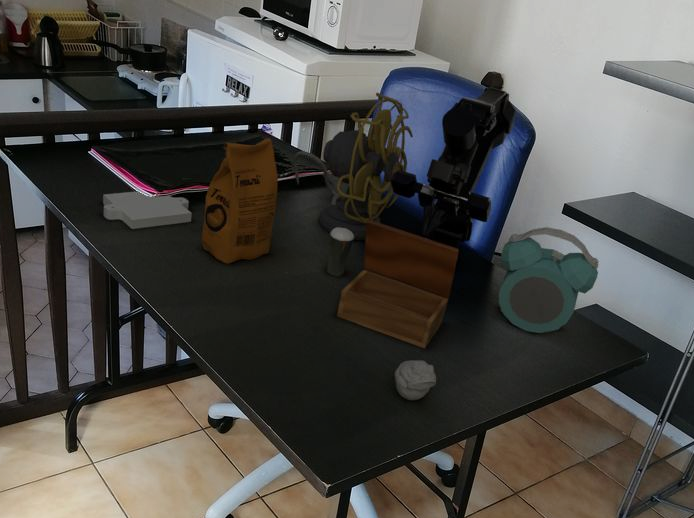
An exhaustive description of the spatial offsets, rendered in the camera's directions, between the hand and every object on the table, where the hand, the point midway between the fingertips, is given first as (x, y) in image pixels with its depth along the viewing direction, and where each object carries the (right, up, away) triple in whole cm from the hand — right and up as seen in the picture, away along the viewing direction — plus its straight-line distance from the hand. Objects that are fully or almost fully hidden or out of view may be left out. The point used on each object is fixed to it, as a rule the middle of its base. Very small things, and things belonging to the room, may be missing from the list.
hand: (424, 237), depth 138 cm
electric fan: (-20, +9, +34) cm, 40 cm away
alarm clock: (+20, -16, +7) cm, 27 cm away
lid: (-3, -5, -6) cm, 8 cm away
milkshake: (-16, -6, +10) cm, 20 cm away
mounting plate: (-56, +7, +17) cm, 59 cm away
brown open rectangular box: (-6, -15, -3) cm, 17 cm away
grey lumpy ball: (-4, -28, -23) cm, 36 cm away
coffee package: (-36, -2, +10) cm, 37 cm away
